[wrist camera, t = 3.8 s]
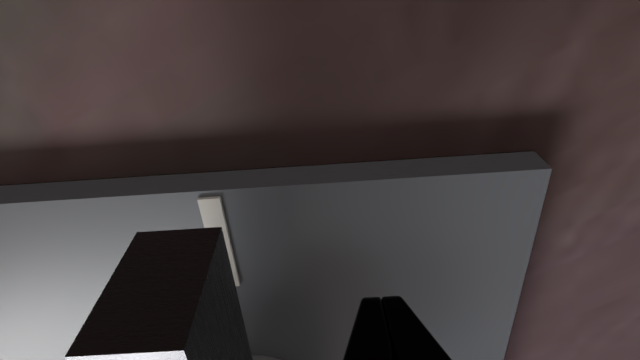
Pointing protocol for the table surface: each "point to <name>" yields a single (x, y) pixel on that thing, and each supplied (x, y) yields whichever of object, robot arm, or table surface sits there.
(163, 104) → the table surface
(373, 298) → the robot arm
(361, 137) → the table surface
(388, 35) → the table surface
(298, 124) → the table surface
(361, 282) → the socket base
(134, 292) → the brass dome with handle
